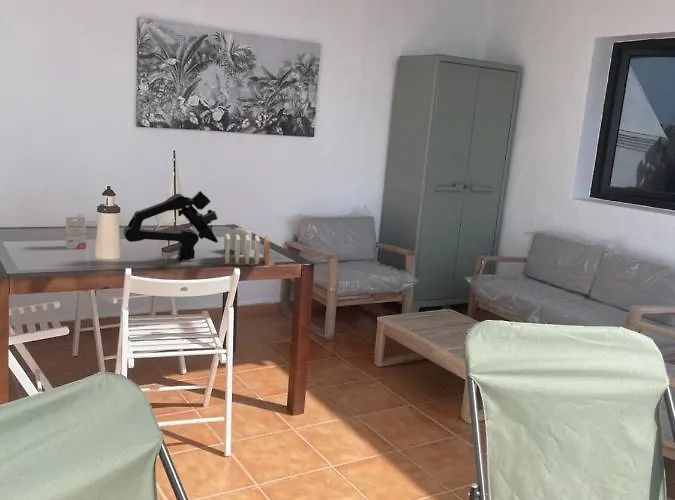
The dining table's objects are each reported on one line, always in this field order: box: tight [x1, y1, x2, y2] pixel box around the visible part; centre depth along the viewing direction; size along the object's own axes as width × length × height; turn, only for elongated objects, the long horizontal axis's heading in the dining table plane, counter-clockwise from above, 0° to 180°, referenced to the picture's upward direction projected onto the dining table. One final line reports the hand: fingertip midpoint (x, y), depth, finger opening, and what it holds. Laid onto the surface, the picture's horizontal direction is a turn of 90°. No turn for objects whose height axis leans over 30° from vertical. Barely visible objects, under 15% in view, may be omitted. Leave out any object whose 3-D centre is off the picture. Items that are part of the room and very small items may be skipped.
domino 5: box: [262, 235, 271, 264], centre depth 319 cm, size 2×10×11 cm, turn 12°
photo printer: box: [231, 227, 253, 255], centre depth 332 cm, size 10×4×12 cm, turn 56°
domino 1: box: [224, 233, 231, 263], centre depth 316 cm, size 2×10×11 cm, turn 12°
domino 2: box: [233, 234, 241, 263], centre depth 317 cm, size 2×10×11 cm, turn 12°
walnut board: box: [221, 255, 276, 267], centre depth 319 cm, size 24×14×1 cm, turn 102°
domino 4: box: [253, 235, 261, 264], centre depth 318 cm, size 2×10×11 cm, turn 11°
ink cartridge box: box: [65, 216, 87, 250], centre depth 313 cm, size 9×5×15 cm, turn 112°
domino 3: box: [243, 235, 251, 264], centre depth 318 cm, size 2×10×11 cm, turn 12°
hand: (217, 241), depth 314 cm, fingers closed
